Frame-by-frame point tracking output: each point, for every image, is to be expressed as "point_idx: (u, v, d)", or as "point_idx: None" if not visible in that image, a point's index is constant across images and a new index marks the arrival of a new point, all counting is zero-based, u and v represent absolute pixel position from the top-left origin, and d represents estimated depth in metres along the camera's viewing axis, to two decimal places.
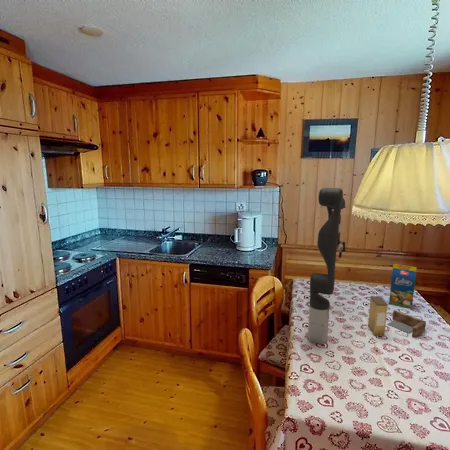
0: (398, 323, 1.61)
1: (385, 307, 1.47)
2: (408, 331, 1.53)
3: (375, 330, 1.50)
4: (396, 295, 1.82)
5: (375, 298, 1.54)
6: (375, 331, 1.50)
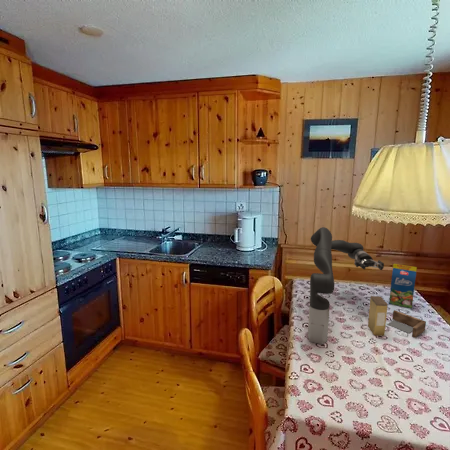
0: (398, 323, 1.61)
1: (385, 307, 1.47)
2: (408, 331, 1.53)
3: (375, 330, 1.50)
4: (396, 295, 1.82)
5: (375, 298, 1.54)
6: (375, 331, 1.50)
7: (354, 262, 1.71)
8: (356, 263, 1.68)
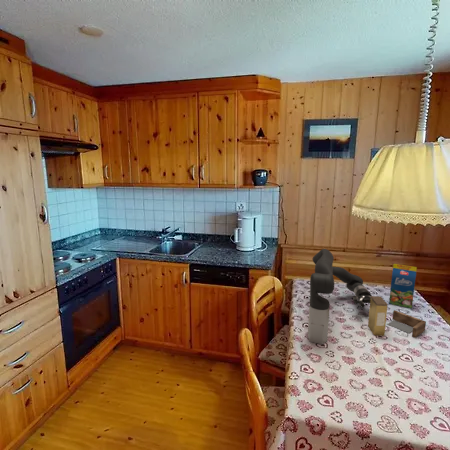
0: (398, 323, 1.61)
1: (385, 307, 1.47)
2: (408, 331, 1.53)
3: (375, 330, 1.50)
4: (396, 295, 1.82)
5: (375, 298, 1.54)
6: (375, 331, 1.50)
7: (353, 298, 1.72)
8: None
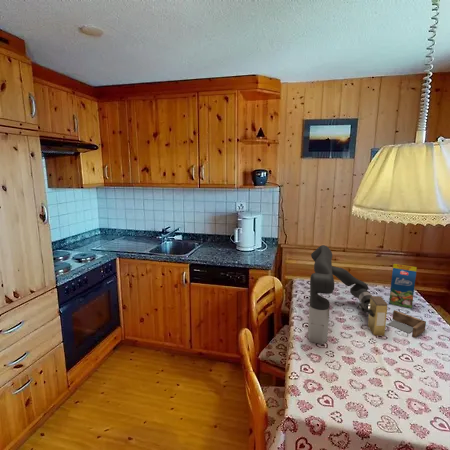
0: (398, 323, 1.61)
1: (385, 307, 1.47)
2: (408, 331, 1.53)
3: (375, 330, 1.50)
4: (396, 295, 1.82)
5: (375, 298, 1.54)
6: (375, 331, 1.50)
7: (359, 307, 1.61)
8: (363, 308, 1.58)
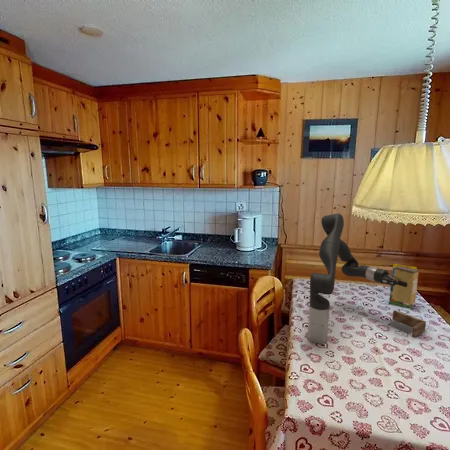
0: (398, 323, 1.61)
1: (417, 273, 1.49)
2: (408, 331, 1.53)
3: (411, 299, 1.49)
4: None
5: (401, 267, 1.53)
6: (411, 300, 1.49)
7: (383, 281, 1.56)
8: (389, 282, 1.54)
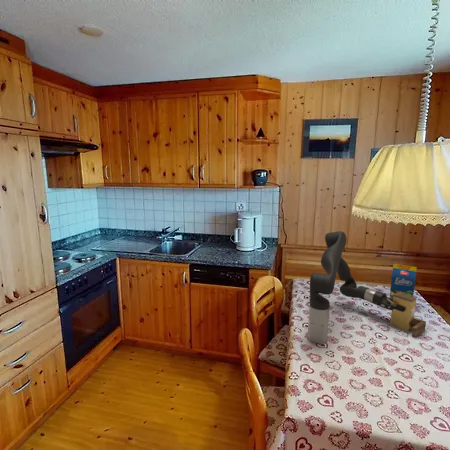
0: None
1: (415, 301, 1.53)
2: None
3: (409, 326, 1.53)
4: None
5: (399, 295, 1.57)
6: (409, 327, 1.53)
7: (381, 305, 1.59)
8: (387, 306, 1.57)
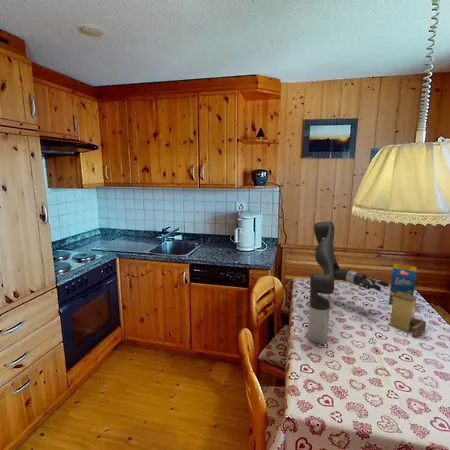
0: None
1: (415, 301, 1.53)
2: None
3: (409, 326, 1.53)
4: None
5: (399, 295, 1.56)
6: (409, 327, 1.53)
7: (360, 284, 1.67)
8: (365, 285, 1.65)
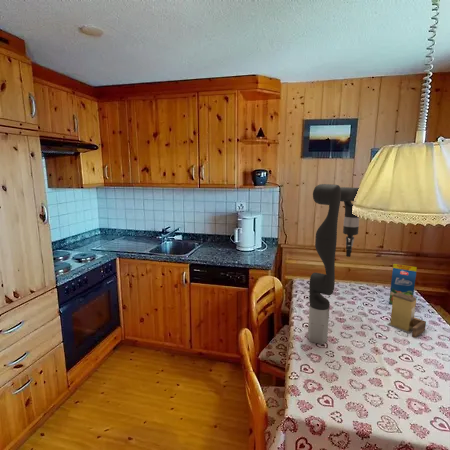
0: None
1: (415, 301, 1.53)
2: None
3: (409, 326, 1.53)
4: None
5: (399, 295, 1.56)
6: (409, 327, 1.53)
7: (348, 239, 1.56)
8: (349, 244, 1.57)
